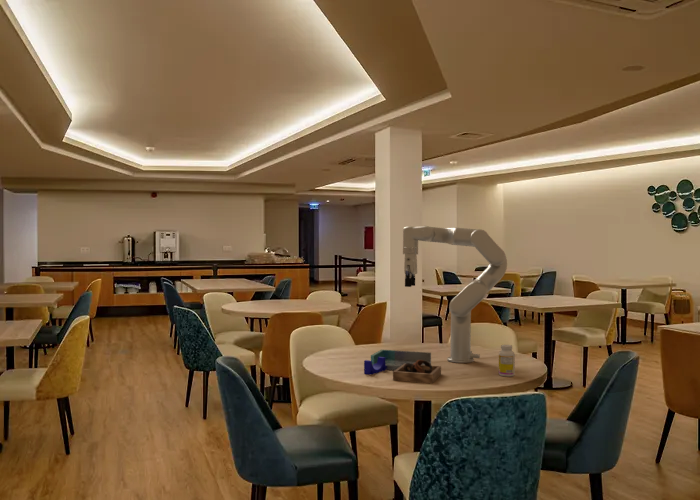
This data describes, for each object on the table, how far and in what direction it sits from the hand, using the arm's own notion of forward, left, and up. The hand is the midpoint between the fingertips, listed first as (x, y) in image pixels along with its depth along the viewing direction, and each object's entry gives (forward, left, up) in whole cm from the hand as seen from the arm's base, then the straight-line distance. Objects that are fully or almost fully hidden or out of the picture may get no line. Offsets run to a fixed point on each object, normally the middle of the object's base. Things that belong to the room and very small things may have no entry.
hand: (410, 286), depth 301 cm
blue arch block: (+7, +38, -36) cm, 53 cm away
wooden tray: (-14, +42, -36) cm, 57 cm away
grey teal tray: (-2, +23, -36) cm, 42 cm away
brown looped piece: (-14, +41, -36) cm, 57 cm away
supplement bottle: (-49, +25, -36) cm, 65 cm away
